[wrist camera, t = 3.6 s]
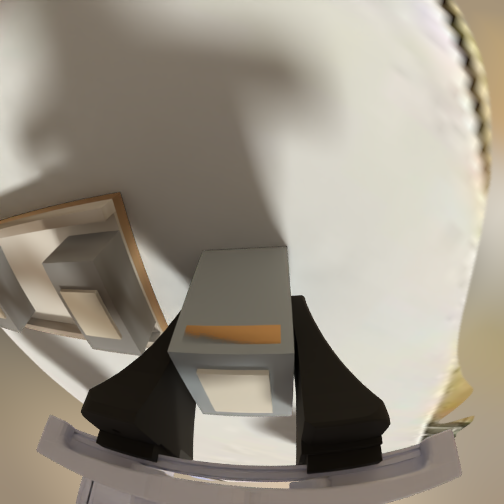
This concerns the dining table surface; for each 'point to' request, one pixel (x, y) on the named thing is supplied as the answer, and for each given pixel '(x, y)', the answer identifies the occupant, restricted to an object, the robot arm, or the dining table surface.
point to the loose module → (238, 334)
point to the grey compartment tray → (78, 276)
